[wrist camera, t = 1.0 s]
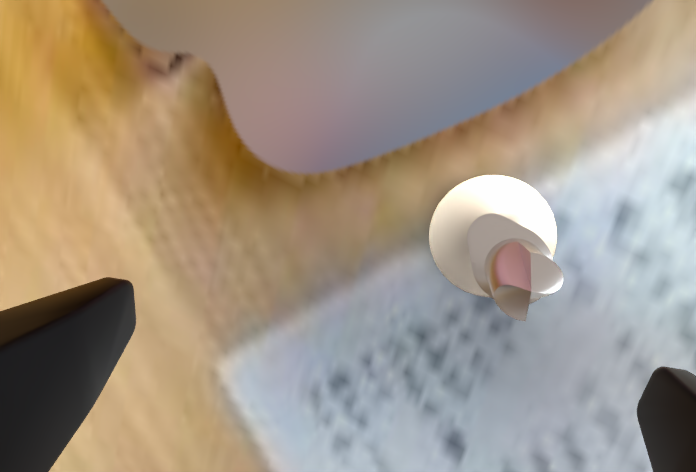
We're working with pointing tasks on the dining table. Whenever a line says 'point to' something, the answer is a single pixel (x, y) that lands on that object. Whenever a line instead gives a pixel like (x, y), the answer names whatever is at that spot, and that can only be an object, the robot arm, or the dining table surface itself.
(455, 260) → the screw
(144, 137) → the dining table surface
